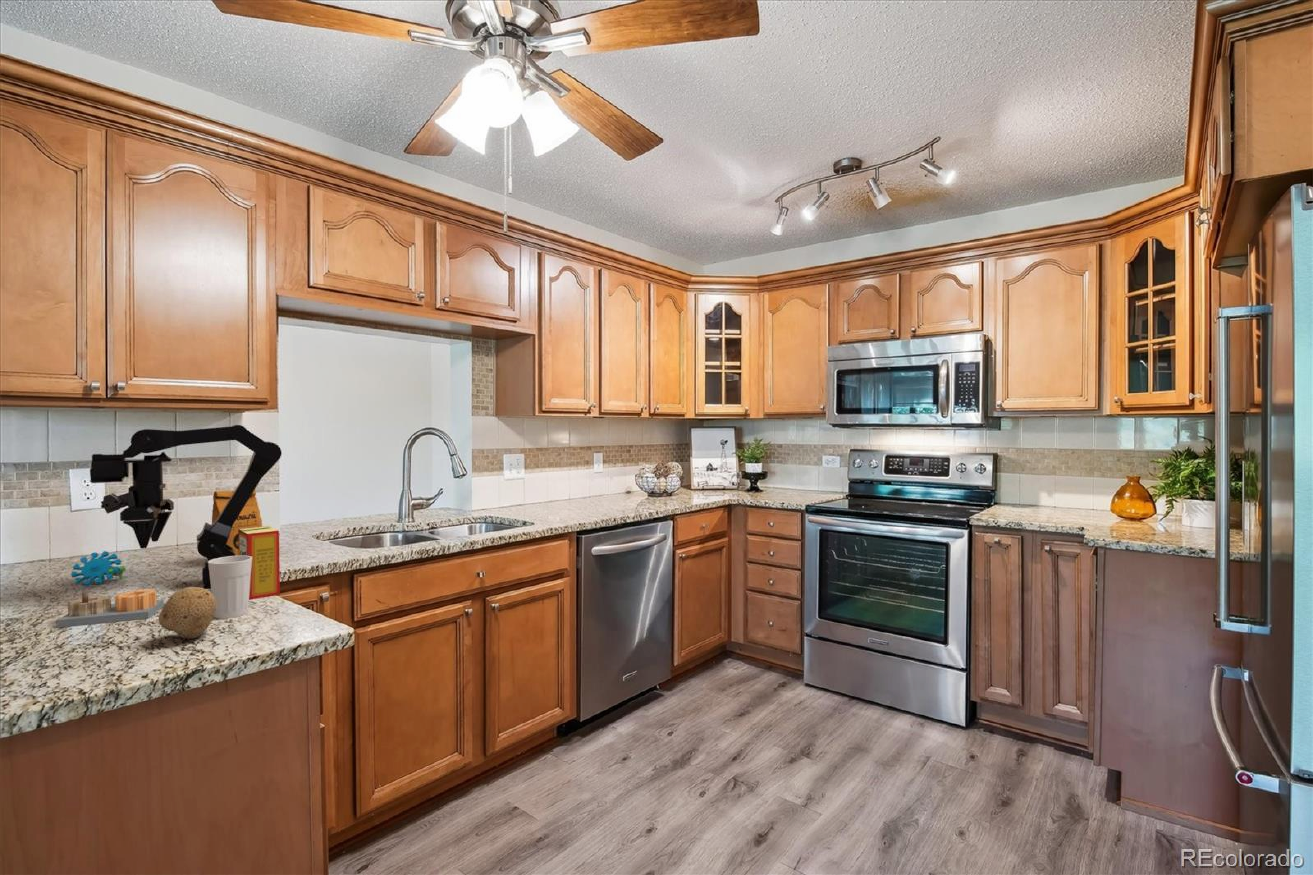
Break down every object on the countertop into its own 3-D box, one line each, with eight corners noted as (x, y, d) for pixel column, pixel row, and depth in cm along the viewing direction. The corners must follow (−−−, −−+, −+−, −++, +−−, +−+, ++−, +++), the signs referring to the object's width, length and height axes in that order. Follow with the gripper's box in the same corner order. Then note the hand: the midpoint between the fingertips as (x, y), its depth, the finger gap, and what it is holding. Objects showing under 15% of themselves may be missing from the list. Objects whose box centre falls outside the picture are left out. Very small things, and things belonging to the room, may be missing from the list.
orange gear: (160, 601, 142) (160, 587, 142) (150, 609, 136) (150, 595, 136) (122, 604, 139) (122, 591, 139) (110, 613, 133) (109, 599, 133)
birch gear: (116, 605, 139) (116, 584, 139) (103, 614, 133) (103, 592, 132) (76, 608, 136) (76, 588, 136) (61, 618, 130) (60, 596, 130)
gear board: (163, 605, 143) (163, 590, 143) (148, 618, 134) (148, 602, 134) (79, 613, 138) (79, 597, 138) (57, 627, 128) (57, 610, 128)
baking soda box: (279, 594, 153) (279, 529, 153) (248, 600, 148) (247, 532, 148) (269, 587, 160) (268, 524, 159) (239, 592, 155) (238, 527, 155)
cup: (261, 610, 140) (260, 557, 140) (226, 621, 133) (225, 564, 132) (235, 607, 143) (234, 554, 142) (200, 617, 135) (199, 561, 135)
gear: (61, 581, 159) (83, 548, 166) (69, 593, 163) (91, 560, 170) (112, 584, 161) (132, 551, 168) (119, 596, 165) (138, 564, 172)
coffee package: (267, 563, 187) (266, 489, 186) (217, 570, 178) (215, 492, 177) (258, 558, 194) (257, 486, 193) (209, 564, 185) (208, 489, 184)
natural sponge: (152, 649, 116) (151, 595, 116) (167, 634, 125) (166, 584, 124) (211, 642, 120) (210, 590, 120) (222, 628, 128) (221, 579, 128)
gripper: (118, 478, 158) (120, 540, 158) (90, 486, 141) (92, 555, 141) (173, 477, 163) (175, 537, 163) (152, 483, 146) (153, 550, 146)
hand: (149, 544), depth 153 cm, fingers open, 9 cm apart
